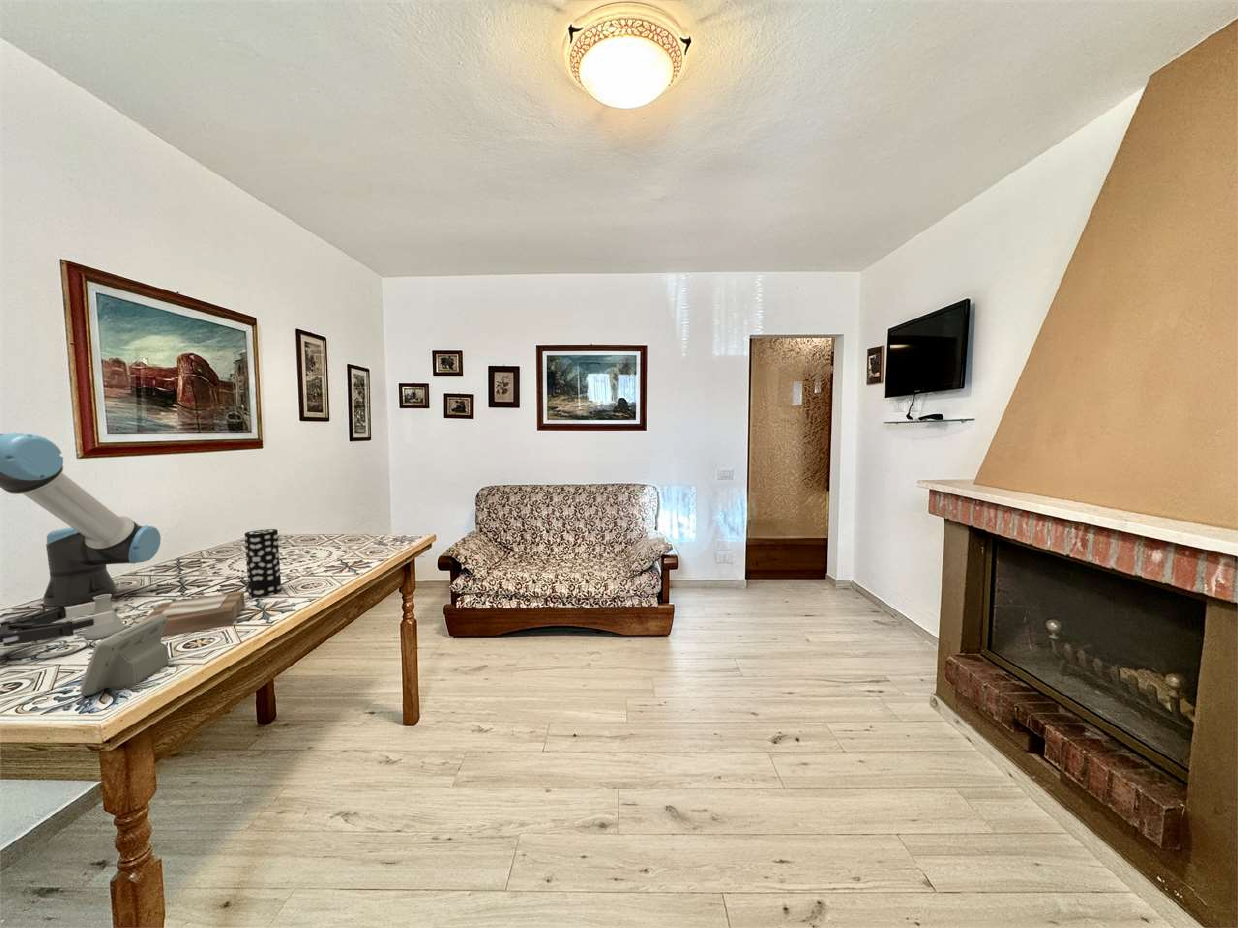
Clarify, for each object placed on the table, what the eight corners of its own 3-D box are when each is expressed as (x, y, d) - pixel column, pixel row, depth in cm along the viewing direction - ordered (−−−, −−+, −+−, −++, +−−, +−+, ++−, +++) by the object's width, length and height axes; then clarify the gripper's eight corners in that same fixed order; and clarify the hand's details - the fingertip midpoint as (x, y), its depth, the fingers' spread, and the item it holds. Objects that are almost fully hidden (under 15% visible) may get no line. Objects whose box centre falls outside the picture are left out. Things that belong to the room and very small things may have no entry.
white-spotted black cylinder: (274, 587, 154) (270, 528, 152) (286, 591, 149) (282, 530, 148) (244, 594, 146) (239, 533, 145) (255, 599, 142) (251, 535, 141)
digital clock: (150, 658, 104) (146, 612, 104) (188, 657, 104) (185, 612, 104) (62, 699, 88) (57, 645, 88) (108, 698, 88) (103, 644, 87)
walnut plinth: (162, 617, 129) (161, 601, 129) (244, 604, 138) (243, 589, 138) (138, 641, 113) (136, 623, 113) (232, 624, 123) (230, 608, 122)
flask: (97, 641, 114) (94, 602, 113) (76, 639, 115) (72, 600, 115) (133, 629, 121) (130, 592, 120) (113, 627, 122) (110, 590, 122)
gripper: (-33, 644, 108) (101, 614, 126) (-33, 674, 94) (118, 636, 111) (-36, 613, 108) (99, 587, 125) (-37, 639, 94) (116, 606, 111)
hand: (108, 610), depth 118 cm, fingers open, 13 cm apart
